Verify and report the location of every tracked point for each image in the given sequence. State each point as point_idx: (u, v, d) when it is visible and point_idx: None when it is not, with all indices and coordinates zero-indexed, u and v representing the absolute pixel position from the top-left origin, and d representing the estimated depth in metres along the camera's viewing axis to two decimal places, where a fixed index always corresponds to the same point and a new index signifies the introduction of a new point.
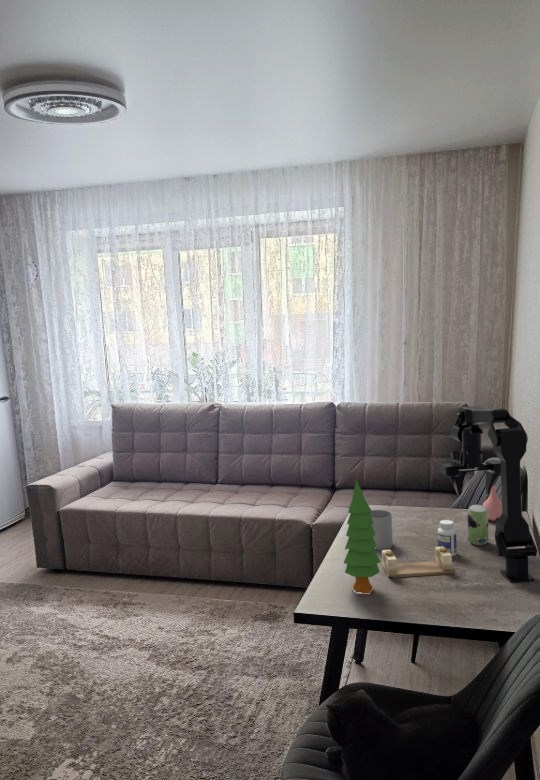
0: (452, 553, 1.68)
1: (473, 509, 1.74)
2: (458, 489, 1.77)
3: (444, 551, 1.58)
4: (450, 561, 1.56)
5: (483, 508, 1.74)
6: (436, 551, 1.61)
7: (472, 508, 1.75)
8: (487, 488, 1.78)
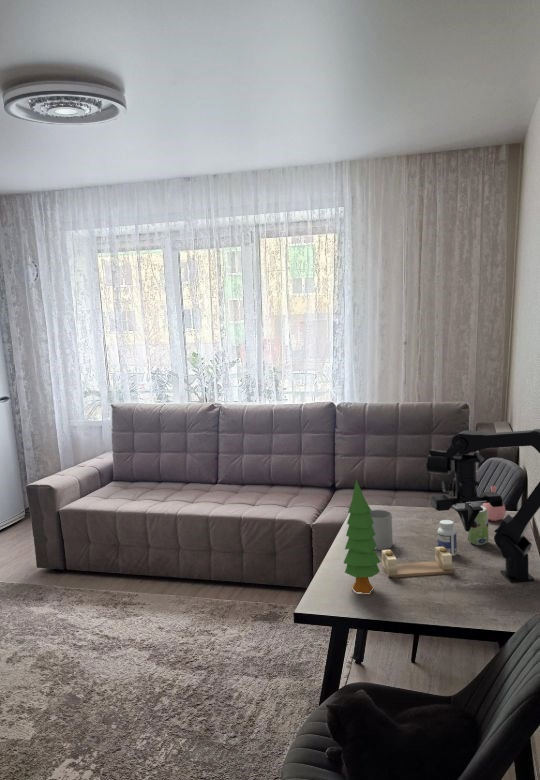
0: (452, 553, 1.68)
1: None
2: (466, 524, 1.57)
3: (444, 551, 1.58)
4: (450, 561, 1.56)
5: (483, 508, 1.74)
6: (436, 551, 1.61)
7: None
8: None
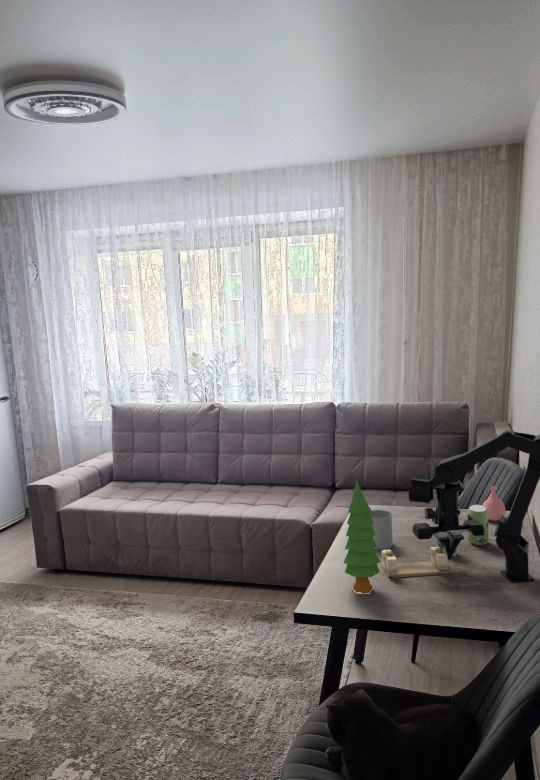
0: None
1: (473, 509, 1.74)
2: (448, 552, 1.58)
3: (439, 551, 1.58)
4: (445, 561, 1.56)
5: (483, 508, 1.74)
6: (432, 551, 1.61)
7: (472, 508, 1.75)
8: None
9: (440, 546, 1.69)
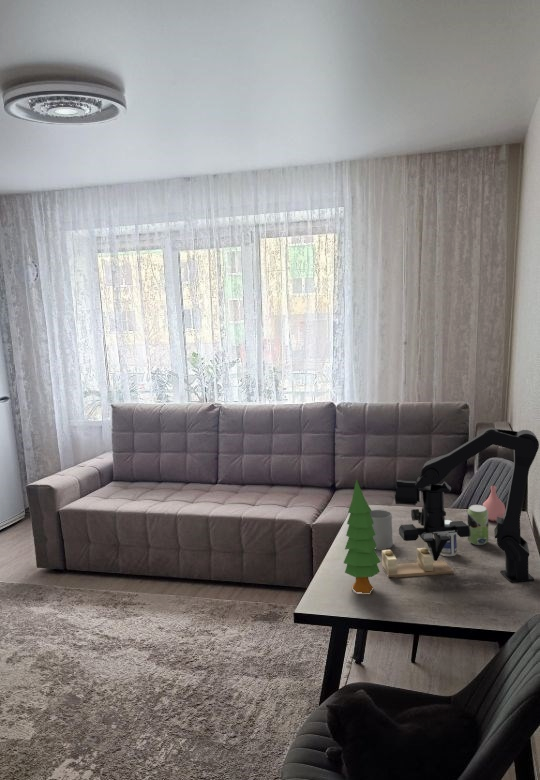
0: (452, 553, 1.68)
1: (473, 509, 1.74)
2: (434, 553, 1.58)
3: (425, 552, 1.58)
4: (431, 562, 1.56)
5: (483, 508, 1.74)
6: (418, 552, 1.61)
7: (472, 508, 1.75)
8: None
9: None
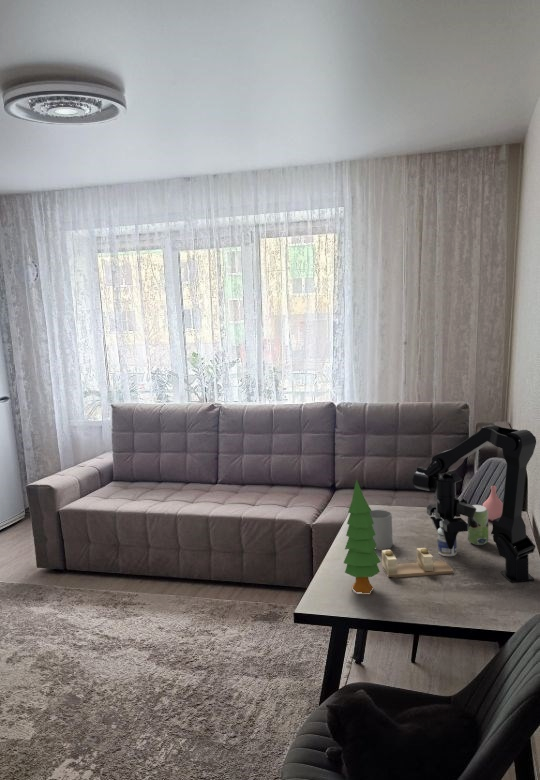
0: (452, 553, 1.68)
1: None
2: None
3: (425, 552, 1.58)
4: (431, 562, 1.56)
5: (483, 508, 1.74)
6: (418, 552, 1.61)
7: None
8: None
9: (440, 546, 1.69)
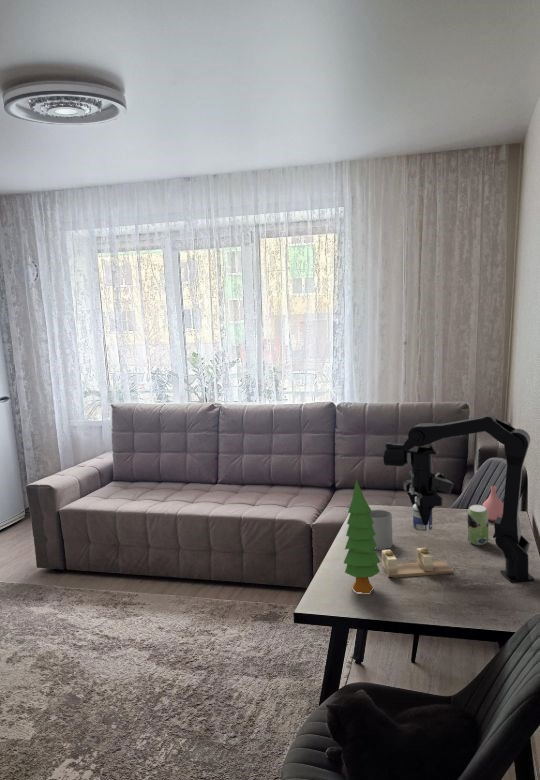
0: (427, 530, 1.61)
1: (473, 510, 1.74)
2: None
3: (425, 552, 1.58)
4: (431, 562, 1.56)
5: (483, 508, 1.74)
6: (418, 552, 1.61)
7: (472, 508, 1.75)
8: None
9: (415, 522, 1.62)
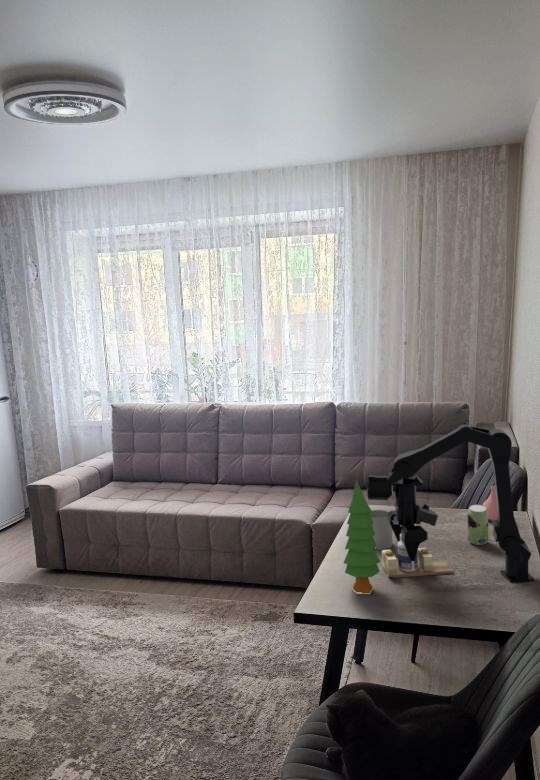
0: (412, 568, 1.57)
1: (473, 509, 1.74)
2: (397, 539, 1.64)
3: (425, 552, 1.58)
4: (431, 562, 1.56)
5: (483, 508, 1.74)
6: (418, 552, 1.61)
7: (472, 508, 1.75)
8: None
9: (400, 560, 1.58)
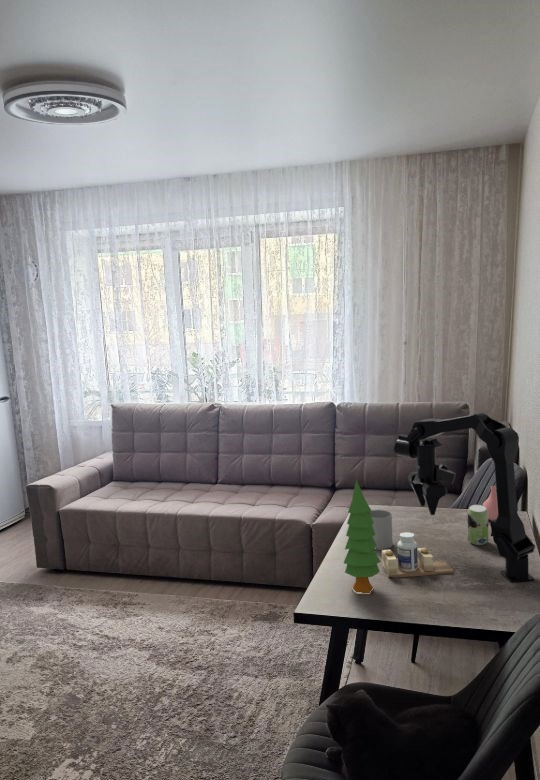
0: (412, 568, 1.57)
1: (472, 509, 1.74)
2: None
3: (425, 552, 1.58)
4: (431, 562, 1.56)
5: (483, 508, 1.74)
6: (418, 552, 1.61)
7: (472, 508, 1.75)
8: None
9: (400, 560, 1.58)
